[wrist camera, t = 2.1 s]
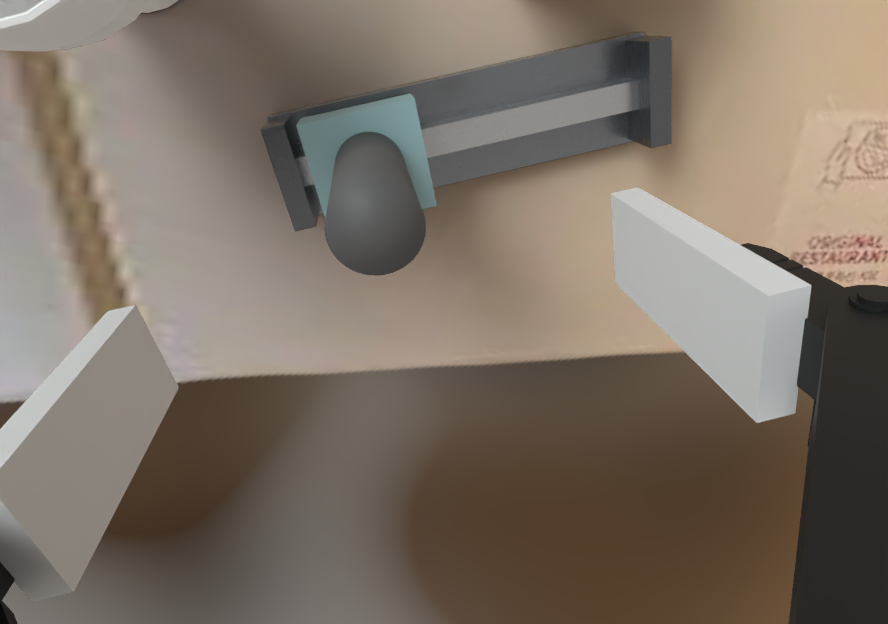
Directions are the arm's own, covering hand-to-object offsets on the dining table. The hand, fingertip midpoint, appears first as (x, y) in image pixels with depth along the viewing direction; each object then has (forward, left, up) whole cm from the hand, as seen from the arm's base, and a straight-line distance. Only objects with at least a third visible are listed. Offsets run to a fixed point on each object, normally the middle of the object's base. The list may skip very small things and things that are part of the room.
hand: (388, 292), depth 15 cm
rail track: (+6, 0, -21) cm, 22 cm away
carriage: (0, 0, -19) cm, 19 cm away
